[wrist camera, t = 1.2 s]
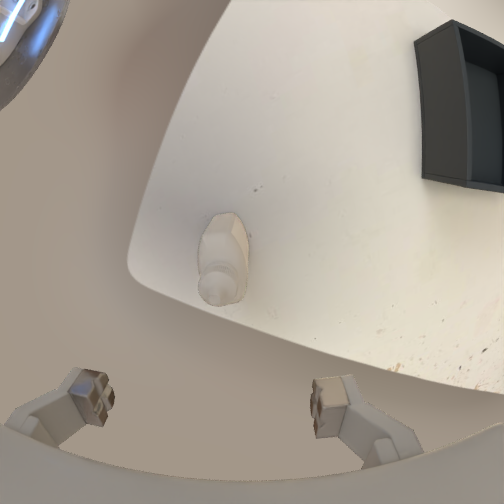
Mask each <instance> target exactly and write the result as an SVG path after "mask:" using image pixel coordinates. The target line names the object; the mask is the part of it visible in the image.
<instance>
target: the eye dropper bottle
mask: <svg viewBox="0 0 504 504" xmlns="http://www.w3.org/2000/svg"><path fill="white" fill-rule="evenodd" d="M248 258H249V244H248V238H247V234H246V231H245V228H244V226H243V224H242V222H241V220H240V219H239V217H238V216H237V215H236V214H235V213H225V214H220V215H216V216H214V217H213V219H212V220H211V222H210V223H209V225H208V227H207V228H206V230H205V231H204V233H203V235H202V237H201V239H200V243H199V248H198V270H199V275H200V281H199V284H198V291H199V293H200V296H201V298H202V299H203V300H204V301H205V302H206V303H208V304H210V305H212V306H218V307H219V306H224V305H228V304H233V303H238V302H240V301H241V300H242V299H243V298H244V295H245V292H246V287H247V279H248Z"/></svg>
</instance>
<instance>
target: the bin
mask: <svg viewBox="0 0 504 504" xmlns="http://www.w3.org/2000/svg"><path fill="white" fill-rule="evenodd" d="M414 46H415V52H416V59H417V67H418V76H419V86H420V98H421V114H422V178H423V179H428V180H433V181H438V182H443V183H447V184H452V185H457V186H461V187H465V188H472V189H480V190H487V191H494V192H500V193H504V45H503V44H501V43H500V42H498V41H496V40H494V39H492V38H491V37H488V36H487V35H485V34H483V33H481V32H479V31H477V30H475V29H473V28H471V27H468V26H466V25H464V24H462V23H459V22H457V21H455V20H450V21H448V22H446V23H444V24H443V25H441V26H439V27H437V28H436V29H434V30H432V31H431V32H429V33H427V34H426V35H424V36H422V37H421V38H419V39H417V40H416V41H414Z"/></svg>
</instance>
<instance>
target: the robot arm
mask: <svg viewBox="0 0 504 504" xmlns="http://www.w3.org/2000/svg"><path fill="white" fill-rule="evenodd" d="M42 1H43V0H0V66H1V65H2V64H3V63H4V62H5V61H6V60H7V58H8V57H9V56H10V54H11V53H12V52H13V50H14V49H15V47H16V46H17V44H18V42H19V41H20V39H21V37H22V35H23V34H24V32H25V31H26V29H27V28H28V27H29V26H30V25H31V24H32V23H33V22H34V20H35V19H36V18H37V17H38V16H39V14H40V13H41V10H42ZM108 381H109V379H108V376H107V374H106V373H103V372H98V371H93V370H88V369H81V368H77V367H75V368H73V369H72V370H71V371H70V373H69V374H68V376H67V377H66V378H65V380H64V381H63V383H62V384H61V385H60V387H59V388H58V390H52V391H51V392H48V393H46V394H44V395H42V396H40V397H38V398H36V399H34V400H32V401H30V402H28V403H26V404H24V405H22V406H20V407H18V408H16V409H15V410H14V412H13V413H12V414H11V416H10V417H9V419H8V420H7V421H6V423H5V424H4V425H2V424H0V504H504V423H496V424H494V425H492V426H489V427H487V428H485V429H483V430H481V431H479V432H477V433H474V434H472V435H470V436H468V437H465V438H463V439H461V440H458V441H456V442H453V443H451V444H448V445H446V446H443V447H440V448H437V449H435V450H432V451H429V452H426V453H424V451H423V449H422V447H421V445H420V443H419V440H418V438H417V436H416V434H415V432H414V430H412V429H411V428H409V427H407V426H406V425H404V424H402V423H401V422H399V421H397V420H396V419H394V418H392V417H391V416H389V415H388V414H386V413H385V412H383V411H381V410H380V409H378V408H376V407H375V406H373V405H372V404H370V403H365V401H364V399H363V396H362V394H361V392H360V389H359V387H358V385H357V382H356V380H355V377H354V376H353V375H344V376H338V377H328V378H318V379H314V380H313V384H312V388H313V393H312V394H311V399H310V409H311V416H312V418H314V419H315V420H314V430H315V435H316V438H328V437H337V436H338V438H340V439H341V440H342V441H343V442H344V443H345V444H346V445H347V446H348V447H349V448H350V449H351V450H352V451H353V452H354V453H355V454H357V455H358V456H359V457H360V458H361V459H362V460H363V461H364V464H363V466H362V468H361V470H357V471H351V472H346V473H340V474H333V475H327V476H320V477H311V478H301V479H288V480H270V481H223V480H206V479H194V478H184V477H175V476H168V475H161V474H155V473H149V472H143V471H138V470H133V469H128V468H124V467H119V466H114V465H111V464H106V463H103V462H99V461H95V460H92V459H89V458H85V457H82V456H78V455H75V454H72V453H69V452H66V451H63V450H61V449H60V448H59V447H58V446H59V445H60V444H61V443H62V442H64V441H65V440H67V439H68V438H69V437H70V436H72V435H73V434H74V433H76V432H77V431H78V430H80V429H81V428H82V427H84V426H85V425H86V424H90V425H96V426H100V427H103V426H104V424H105V422H106V419H107V417H108V414H107V411H109V410H110V409H112V407H113V404H114V399H115V396H114V391H113V389H112V387H111V386H110V385H109V384H108Z"/></svg>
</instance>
